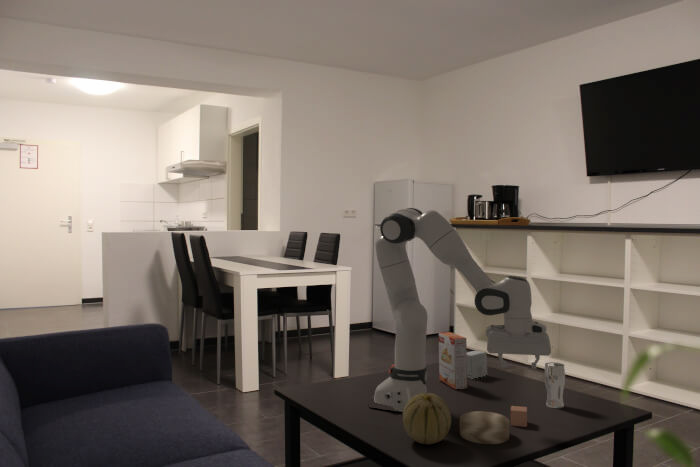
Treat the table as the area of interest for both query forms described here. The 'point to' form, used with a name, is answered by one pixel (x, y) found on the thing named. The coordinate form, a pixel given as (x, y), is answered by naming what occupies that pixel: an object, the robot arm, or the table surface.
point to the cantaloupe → (427, 418)
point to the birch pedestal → (484, 427)
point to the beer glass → (554, 384)
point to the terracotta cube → (518, 416)
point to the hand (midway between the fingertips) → (518, 367)
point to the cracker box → (453, 360)
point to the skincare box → (476, 364)
